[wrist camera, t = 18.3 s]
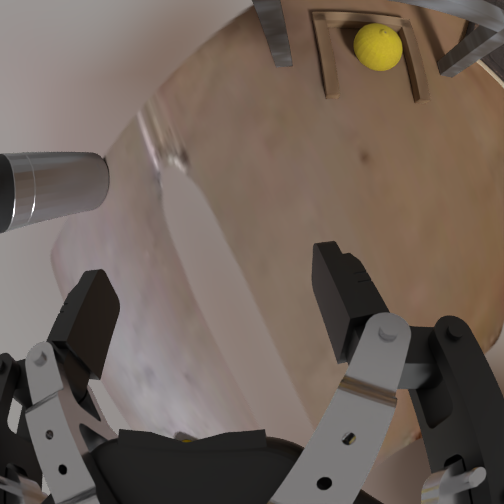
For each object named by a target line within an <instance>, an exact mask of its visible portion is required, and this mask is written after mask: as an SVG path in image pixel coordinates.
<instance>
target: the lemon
mask: <svg viewBox="0 0 504 504" xmlns="http://www.w3.org/2000/svg"><path fill="white" fill-rule="evenodd" d="M353 46H354V52H355V54H356V57H357V58H358V59H359V61H360V62H361V63H362V64H363V65H365V66H366V67H368V68H370V69H372V70H377V71H385V70H388V69H391V68H392V67H394V66H395V65H396V64H397V63H398V62H399V60H400V58H401V55H402V42H401V39H400V38H399V36H398V34H397V33H396V32H395V31H394V30H393V29H391V28H390V27H388V26H386V25H383V24H379V23H372V24H368V25H366V26H364V27H363V28H361V29H360V30H359V31H358V33H357V34H356V36H355V39H354V45H353Z"/></svg>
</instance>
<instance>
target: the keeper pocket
mask: <svg viewBox="0 0 504 504" xmlns="http://www.w3.org/2000/svg"><path fill="white" fill-rule="evenodd" d="M389 1H395V2H401V3H406V4H411V5H416V6H421V7H425V8H429V9H433V10H437V11H440V12H444V13H447V14H451V15H454V16H457V17H460V18H463V19H466V20H468V21H471V22H474V23H477V24H479V26H478V27H477V28H476V29H475V30H473V31H472V32H471V33H470V34H469V35H468V36H467V37H465V38H464V39H463V40H462V41H461V42H460V43H458V44H457V45H456V46H455V47H454V48H453V49H452V50H450V51H449V52H448V53H447V54H446V55H445V56H444V57H442V58H441V59H440V60H439V61H438V62H437V64H438V67H439V71H440V75H443V76H448V77H454V76H455V75H456V74H458V73H460V72H461V71H463V70H464V69H466V68H467V67H469V66H470V65H472V64H473V63H475V62H476V61H478V60H479V59H481V58H482V57H484V56H486V55H487V54H489V53H490V52H492V51H493V50H495V49H496V48H498V47H500V46H501V45H503V44H504V10H503V9H501V8H499V7H497V6H495V5H492V4H490V3H488V2H486V1H484V0H389ZM252 2H253V4H254V7H255V9H256V12H257V14H258V17H259V20H260V22H261V25H262V28H263V30H264V33H265V36H266V39H267V41H268V44H269V47H270V50H271V53H272V56H273V59H274V62H275V65H276V67H285V66H292V58H291V52H290V46H289V41H288V36H287V31H286V26H285V21H284V16H283V11H282V7H281V2H280V0H252ZM312 20H313V24H314V29H315V34H316V39H317V45H318V50H319V56H320V61H321V68H322V74H323V80H324V87H325V95H326V99H338V98H339V96H340V89H339V83H338V76H337V70H336V65H335V59H334V54H333V49H332V44H331V39H330V34H329V30H328V28H358V29H361V28H363V27H364V26H366V25H368V24H372V23H379V24H383V25H386V26H388V27H390V28H391V29H393V30H394V31H395V32H397V33H398V34H399V37H400V39H401V42H402V47H403V51H404V55H405V59H406V63H407V67H408V71H409V76H410V80H411V85H412V90H413V96H414V101H415V103H421V104H426V103H427V102H429V101H431V98H430V93H429V88H428V83H427V78H426V74H425V70H424V66H423V62H422V58H421V55H420V51H419V47H418V44H417V41H416V38H415V35H414V31H413V28H412V26H411V23H410V20H409V19H404V18H398V17H391V16H384V15H375V14H365V13H350V12H312Z"/></svg>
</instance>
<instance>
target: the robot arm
mask: <svg viewBox="0 0 504 504" xmlns="http://www.w3.org/2000/svg"><path fill="white" fill-rule="evenodd" d="M108 185H109V174H108V169H107V166H106V164H105V162H104V160H103V159H102V158H101V156H99V155H98V154H95V153H88V152H87V153H86V152H23V153H6V154H0V233H3V232H7V231H10V230H13V229H17V228H20V227H23V226H27V225H31V224H34V223H38V222H42V221H46V220H50V219H54V218H58V217H63V216H67V215H71V214H76V213H80V212H85V211H89V210H93V209H96V208H97V207H98V206H100V205H101V203H102V202H103V201H104V199H105V197H106V194H107V191H108ZM312 286H313V291H314V294H315V297H316V300H317V303H318V306H319V309H320V312H321V314H322V317H323V320H324V323H325V326H326V329H327V332H328V335H329V338H330V341H331V344H332V347H333V351H334V354H335V357H336V360H337V363H338V364H340V363H344V362H348V365H349V367H348V369H347V371H346V374H345V376H344V378H343V380H342V381H341V382H340V384H339V386H338V388H337V390H336V392H335V394H334V396H333V398H332V400H331V402H330V404H329V406H328V408H327V410H326V412H325V414H324V415H323V417H322V419H321V421H320V423H319V425H318V426H317V428H316V430H315V432H314V433H313V436H312V437H311V439H310V441H309V442H308V444H307V445H306V447H305V448H304V447H302V446H300V445H298V444H295V443H293V442H290V441H287V440H284V439H280V438H274V437H266V433H265V429H263V430H254V431H242V432H228V433H223V434H219V435H215V436H212V437H208V438H204V439H200V440H196V441H192V442H182V441H178V440H175V439H171V438H168V437H165V436H161V435H158V434H155V433H152V432H144V431H133V430H123V429H119V436H118V435H117V434H116V433H115V432H114V431H113V430H112V429H111V428H110V426H109V425H108V423H107V421H106V419H105V417H104V415H103V413H102V411H101V409H100V407H99V405H98V403H97V400H96V398H95V396H94V394H93V391H92V389H91V388H90V386H89V385H88V381H89V379H96V380H100V379H101V375H102V371H103V367H104V363H105V359H106V356H107V352H108V348H109V345H110V341H111V338H112V335H113V331H114V328H115V325H116V322H117V318H118V315H119V312H120V303H119V299H118V296H117V295H116V293H115V291H114V289H113V287H112V285H111V283H110V281H109V279H108V277H107V275H106V273H105V271H104V270H102V269H99V270H91V271H85V272H84V273H83V275H82V277H81V279H80V281H79V283H78V284H77V285H76V286H75V287H74V288H73V289H72V291H71V292H70V293H69V294H68V296H67V298H66V300H65V302H64V305H63V306H62V308H61V310H60V313H59V314H58V316H57V318H56V321H55V323H54V325H53V327H52V330H51V332H50V334H49V336H48V339H47V341H46V342H40V343H38V344H36V345H35V346H33V348H31V350H30V351H29V352H28V354H27V357H26V359H23V360H19V361H15V360H14V359H13V358H12V357H11V356H10V355H9V354H8V353H3V354H1V355H0V504H383V503H382V502H380V501H378V500H377V499H375V498H374V497H372V496H371V495H369V494H367V493H366V492H365V491H363V490H362V489H361V487H362V486H363V484H364V482H365V480H366V478H367V476H368V474H369V472H370V470H371V468H372V465H373V463H374V461H375V459H376V457H377V454H378V452H379V450H380V448H381V445H382V443H383V440H384V438H385V435H386V433H387V430H388V428H389V425H390V422H391V420H392V417H393V414H394V411H395V408H396V404H397V398H396V397H395V394H396V390H397V389H408V391H409V394H410V397H411V400H412V403H413V406H414V409H415V412H416V416H417V419H418V422H419V426H420V429H421V433H422V436H423V440H424V444H425V447H426V452H427V456H428V459H429V464H430V469H431V473H432V474H431V475H430V476H429V478H428V479H427V480H426V482H425V483H424V486H423V488H422V493H421V494H422V501H421V504H504V398H503V395H502V393H501V390H500V388H499V386H498V383H497V381H496V379H495V377H494V374H493V372H492V370H491V368H490V366H489V364H488V362H487V360H486V358H485V356H484V354H483V352H482V350H481V348H480V346H479V344H478V342H477V340H476V339H475V337H474V335H473V333H472V331H471V329H470V328H469V326H468V325H467V324H466V323H465V322H464V321H463V320H462V319H460V318H458V317H455V316H444V317H441V318H440V319H439V320H438V321H437V323H436V324H435V326H434V327H414V326H409V325H408V324H407V322H406V321H405V320H404V319H403V318H401V317H400V316H398V315H396V314H393V313H390V312H389V310H388V308H387V306H386V304H385V303H384V301H383V299H382V297H381V295H380V294H379V292H378V290H377V288H376V287H375V285H374V283H373V281H371V278H370V276H369V275H368V273H366V270H365V268H364V266H363V265H362V263H361V261H360V260H358V259H357V258H356V257H354V256H353V255H352V254H351V253H346V254H342V252H341V250H340V249H339V247H338V245H337V243H336V242H335V241H330V242H322V243H315V244H314V246H313V261H312ZM12 398H14V399H15V400H16V401H17V402H19V403H20V404H21V405H22V410H21V415H20V419H19V424H18V429H17V433H16V434H15V433H14V432H12V431H11V430H10V429H9V427H8V423H7V418H8V414H9V410H10V406H11V402H12ZM42 474H43V475H44V477H45V480H46V482H47V485H48V487H49V489H50V492H51V494H50V495H49V496H48V495H47V494H46V493H44V492H42Z"/></svg>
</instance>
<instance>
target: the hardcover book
mask: <svg viewBox="0 0 504 504" xmlns="http://www.w3.org/2000/svg"><path fill="white" fill-rule="evenodd" d="M484 1H486V2H488V3H490V4H492V5H495V6H497V7H499V8H501V9H503V10H504V0H484ZM478 26H479V24H477V23H474V22H471V21H470V22H469V25H468V29H467V32H466V35H465V37H467V36H468V35H469V34H470V33H471V32H472V31H473V30H475V29H476V28H477V27H478ZM476 62H478V63H479V64H480V65H481V66H482V67H483V68H484V69H485V70H486V71H487V72H488V73H489V74H490V75H491V76H492V77H493V78H494V79H495V80H496V81H497V82H498V83H499V84H500V85H501V86H502V87H503V88H504V44H503V45H501V46H500V47H498V48H496V49H495V50H493V51H492V52H490V53H489V54H487V55H486V56H484V57H482V58H481V59H479V60H478V61H476Z"/></svg>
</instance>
